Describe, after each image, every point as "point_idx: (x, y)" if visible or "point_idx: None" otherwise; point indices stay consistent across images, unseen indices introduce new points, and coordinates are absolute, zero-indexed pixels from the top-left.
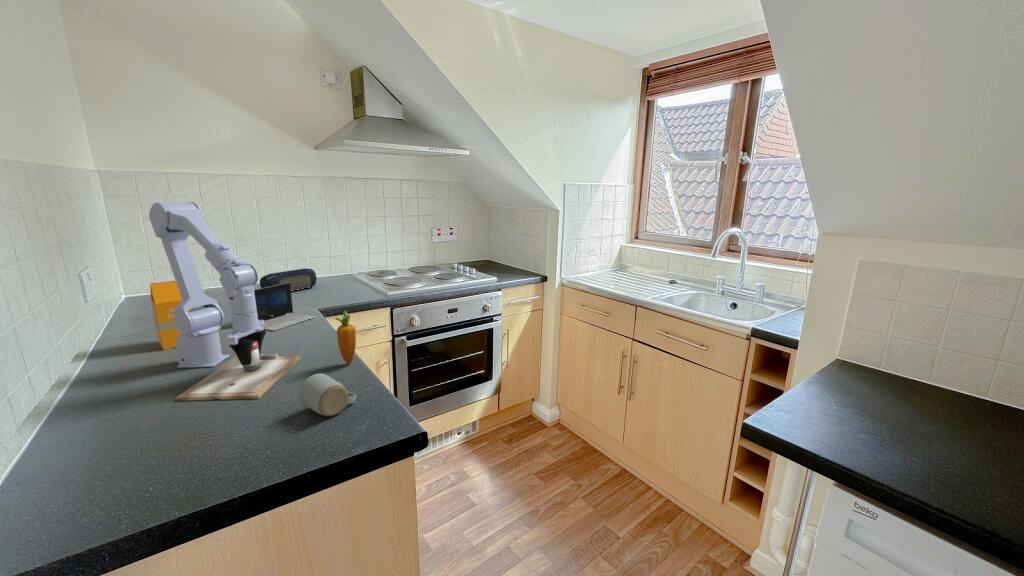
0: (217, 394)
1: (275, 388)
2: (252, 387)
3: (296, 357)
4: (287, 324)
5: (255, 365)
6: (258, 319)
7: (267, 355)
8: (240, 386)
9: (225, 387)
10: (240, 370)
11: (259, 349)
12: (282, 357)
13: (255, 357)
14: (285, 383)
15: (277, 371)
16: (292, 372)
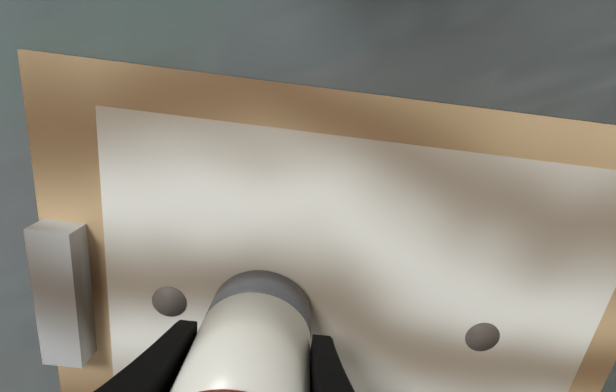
0: (591, 359)
1: (578, 75)
2: (581, 214)
3: (51, 75)
4: None
5: (294, 301)
6: None
7: (67, 289)
8: (532, 286)
9: (516, 354)
10: None
11: (164, 365)
12: (57, 186)
13: (282, 340)
14: (513, 27)
15: (338, 137)
16: (312, 36)
